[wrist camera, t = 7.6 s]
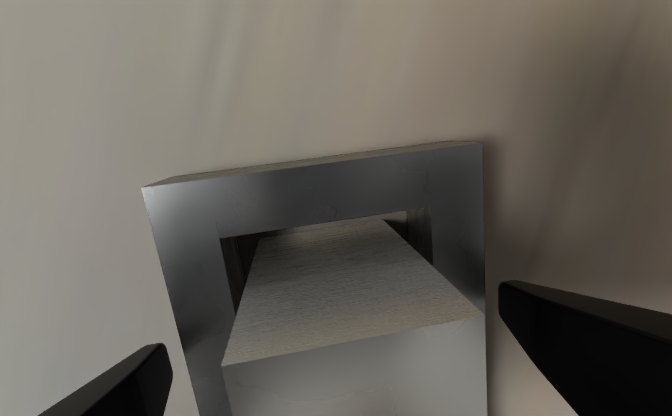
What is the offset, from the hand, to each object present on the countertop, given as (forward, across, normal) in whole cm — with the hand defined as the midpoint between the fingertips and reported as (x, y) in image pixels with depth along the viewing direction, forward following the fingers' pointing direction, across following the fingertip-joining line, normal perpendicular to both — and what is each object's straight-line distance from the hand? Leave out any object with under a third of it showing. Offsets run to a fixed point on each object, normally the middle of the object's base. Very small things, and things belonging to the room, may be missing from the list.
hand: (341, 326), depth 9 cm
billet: (+2, 0, 0) cm, 2 cm away
